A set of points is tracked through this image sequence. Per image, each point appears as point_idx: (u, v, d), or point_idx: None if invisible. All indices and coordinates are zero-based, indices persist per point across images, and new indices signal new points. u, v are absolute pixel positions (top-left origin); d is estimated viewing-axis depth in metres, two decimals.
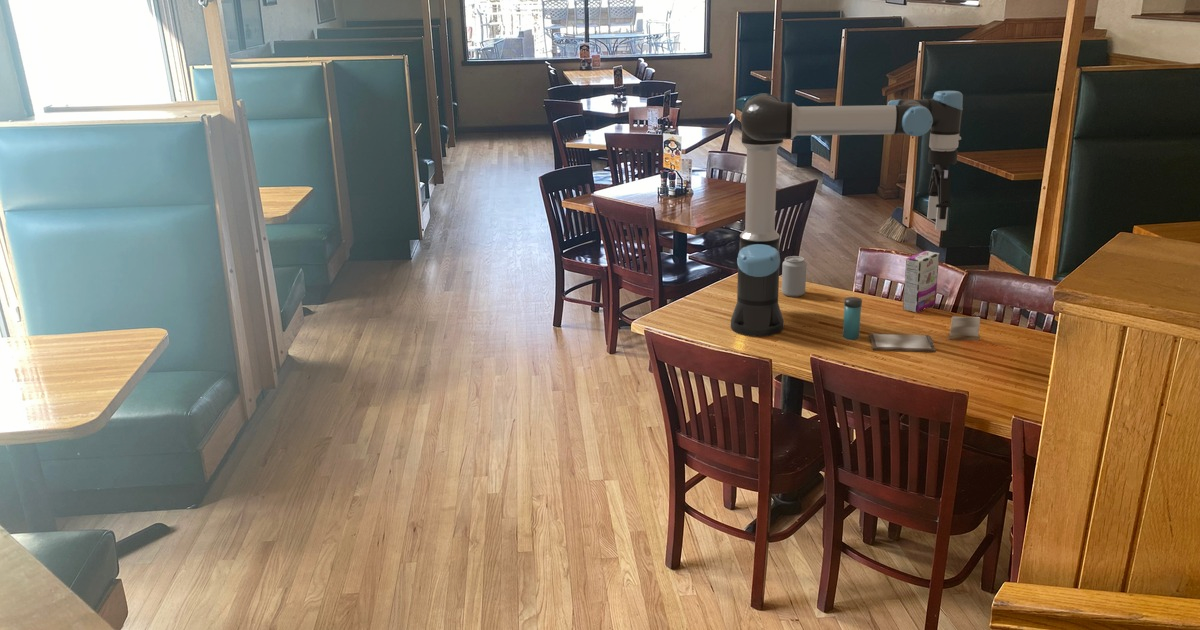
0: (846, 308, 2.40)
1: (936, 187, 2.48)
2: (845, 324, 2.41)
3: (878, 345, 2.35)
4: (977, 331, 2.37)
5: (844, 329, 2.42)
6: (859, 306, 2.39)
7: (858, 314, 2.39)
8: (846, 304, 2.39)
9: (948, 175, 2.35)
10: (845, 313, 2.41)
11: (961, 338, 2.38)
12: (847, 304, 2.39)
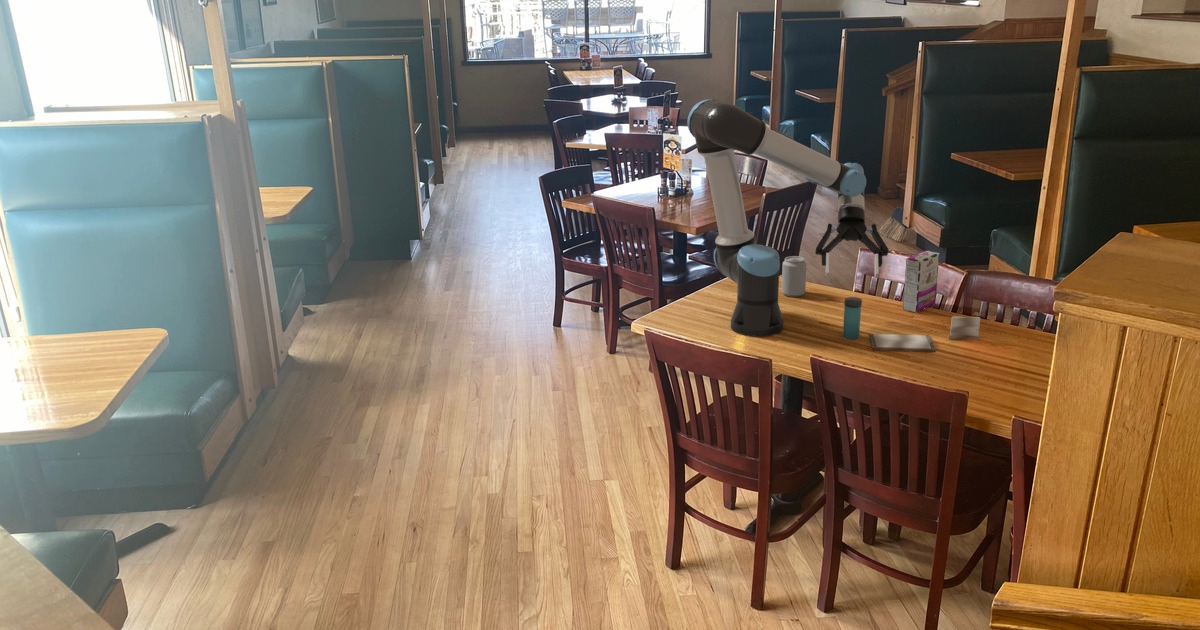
0: (846, 308, 2.40)
1: (833, 246, 2.53)
2: (845, 324, 2.41)
3: (878, 345, 2.35)
4: (977, 331, 2.37)
5: (844, 329, 2.42)
6: (859, 306, 2.39)
7: (858, 314, 2.39)
8: (846, 304, 2.39)
9: None
10: (845, 313, 2.41)
11: (961, 338, 2.38)
12: (847, 304, 2.39)
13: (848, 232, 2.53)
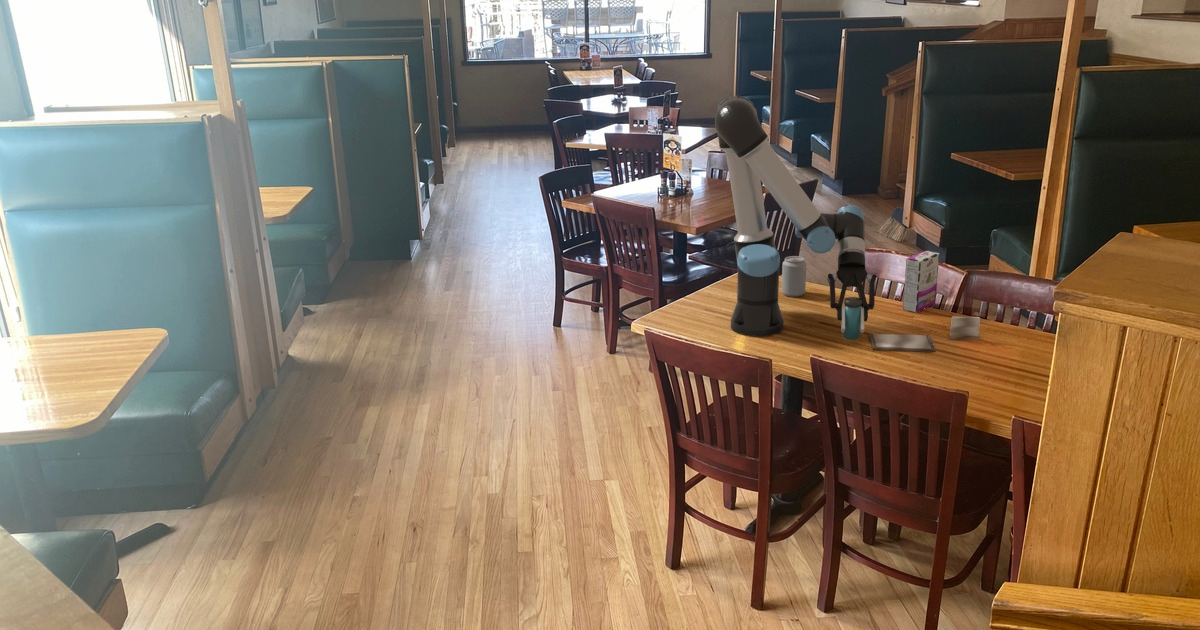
0: (846, 308, 2.40)
1: None
2: (845, 324, 2.41)
3: (878, 345, 2.35)
4: (977, 331, 2.37)
5: None
6: (859, 306, 2.39)
7: (858, 314, 2.39)
8: (846, 304, 2.39)
9: None
10: (845, 313, 2.41)
11: (961, 338, 2.38)
12: (847, 304, 2.39)
13: (848, 278, 2.45)
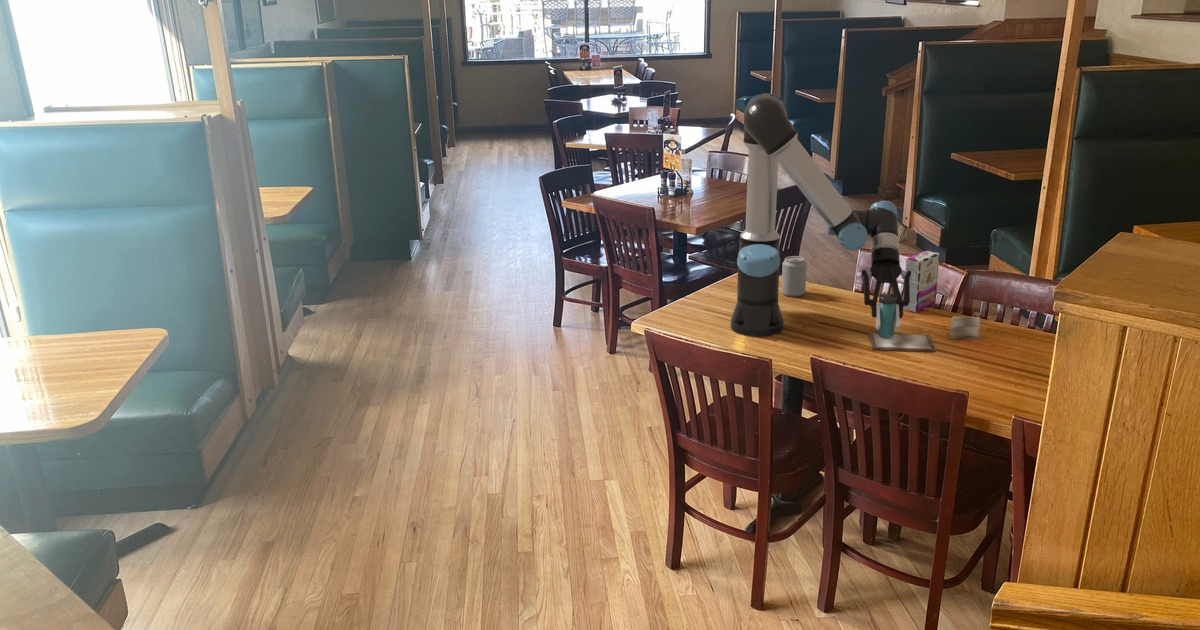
0: (881, 305, 2.37)
1: None
2: (880, 321, 2.38)
3: (878, 345, 2.35)
4: (977, 331, 2.37)
5: None
6: (894, 303, 2.35)
7: (893, 311, 2.36)
8: (881, 301, 2.36)
9: (909, 278, 2.42)
10: (880, 310, 2.37)
11: (961, 338, 2.38)
12: (882, 301, 2.36)
13: (883, 274, 2.41)
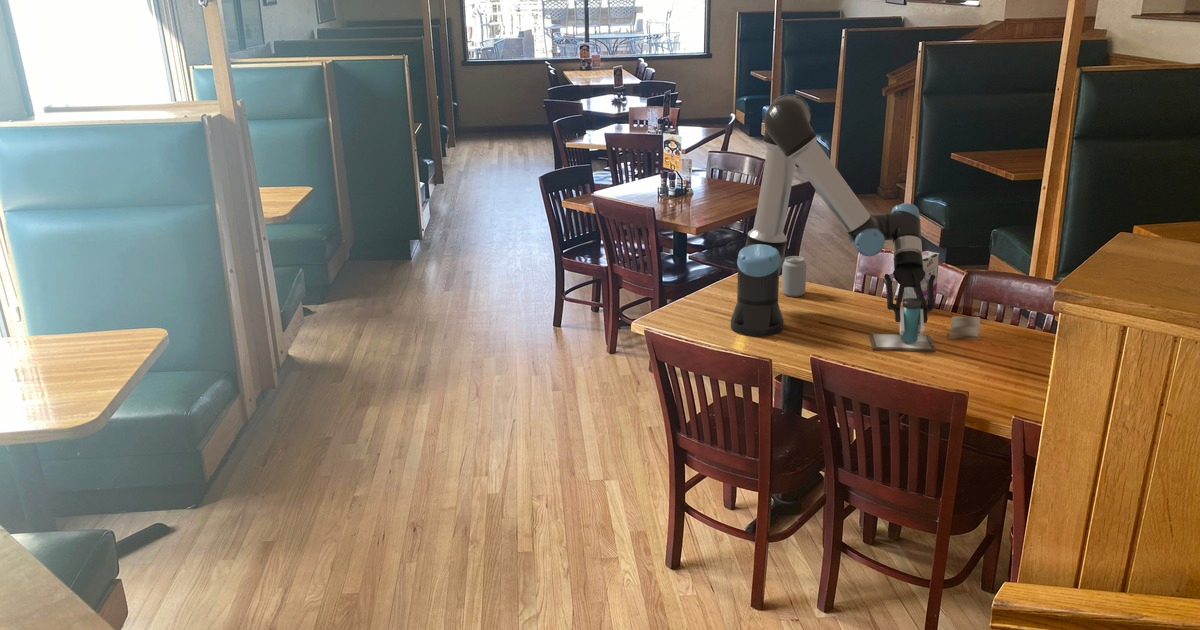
0: (905, 310, 2.32)
1: None
2: None
3: (878, 345, 2.35)
4: (977, 331, 2.37)
5: None
6: (919, 307, 2.31)
7: (917, 316, 2.32)
8: (905, 305, 2.32)
9: None
10: (904, 315, 2.33)
11: (961, 338, 2.38)
12: (906, 305, 2.31)
13: (906, 278, 2.37)
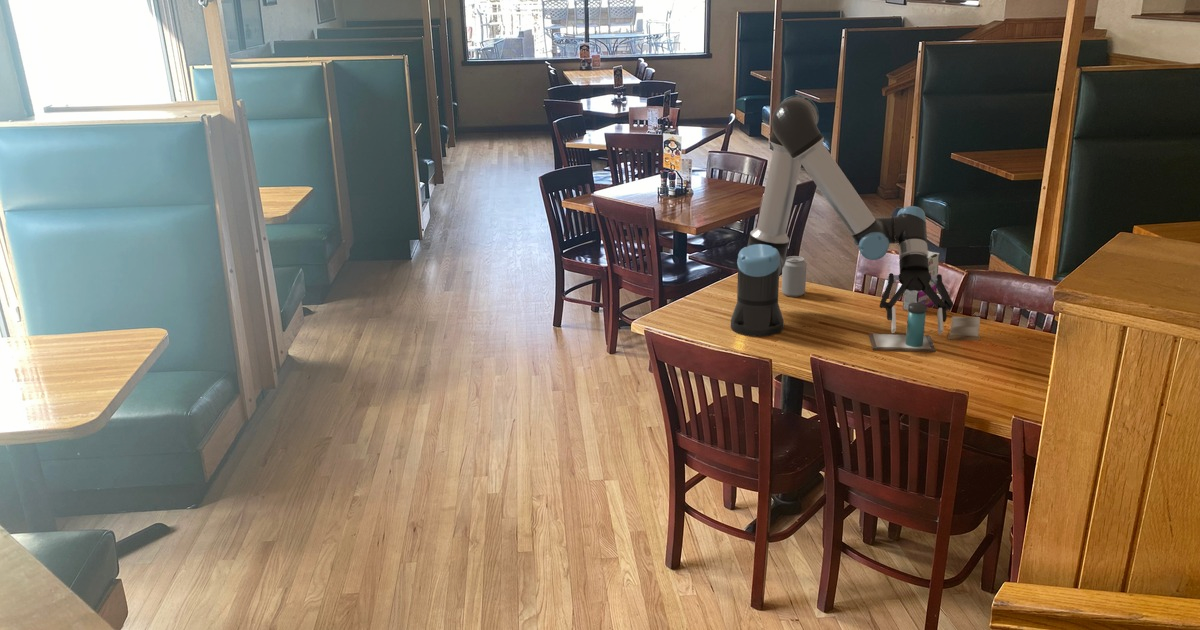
0: (910, 314, 2.31)
1: (898, 298, 2.36)
2: (909, 331, 2.33)
3: (878, 345, 2.35)
4: (977, 331, 2.37)
5: (907, 336, 2.33)
6: (924, 312, 2.30)
7: (923, 320, 2.31)
8: (910, 310, 2.31)
9: None
10: (909, 319, 2.32)
11: (961, 338, 2.38)
12: (911, 310, 2.30)
13: (911, 282, 2.36)
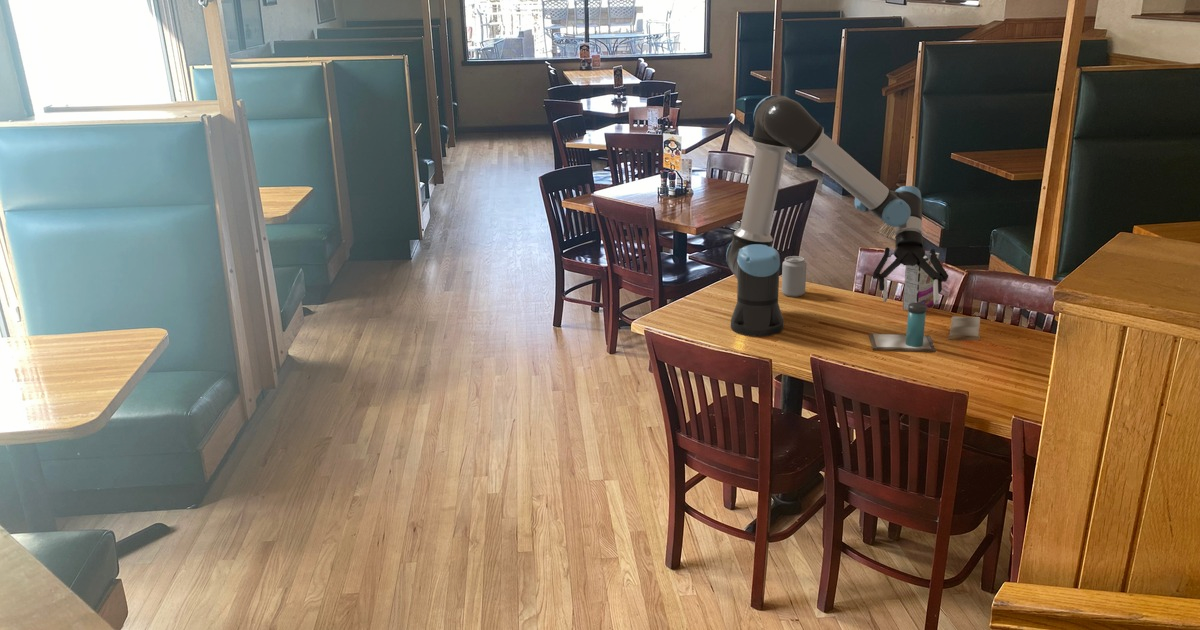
0: (910, 314, 2.31)
1: (891, 270, 2.49)
2: (909, 331, 2.33)
3: (878, 345, 2.35)
4: (977, 331, 2.37)
5: (907, 336, 2.33)
6: (924, 312, 2.30)
7: (923, 320, 2.31)
8: (910, 310, 2.31)
9: None
10: (909, 319, 2.32)
11: (961, 338, 2.38)
12: (911, 310, 2.30)
13: (906, 257, 2.49)
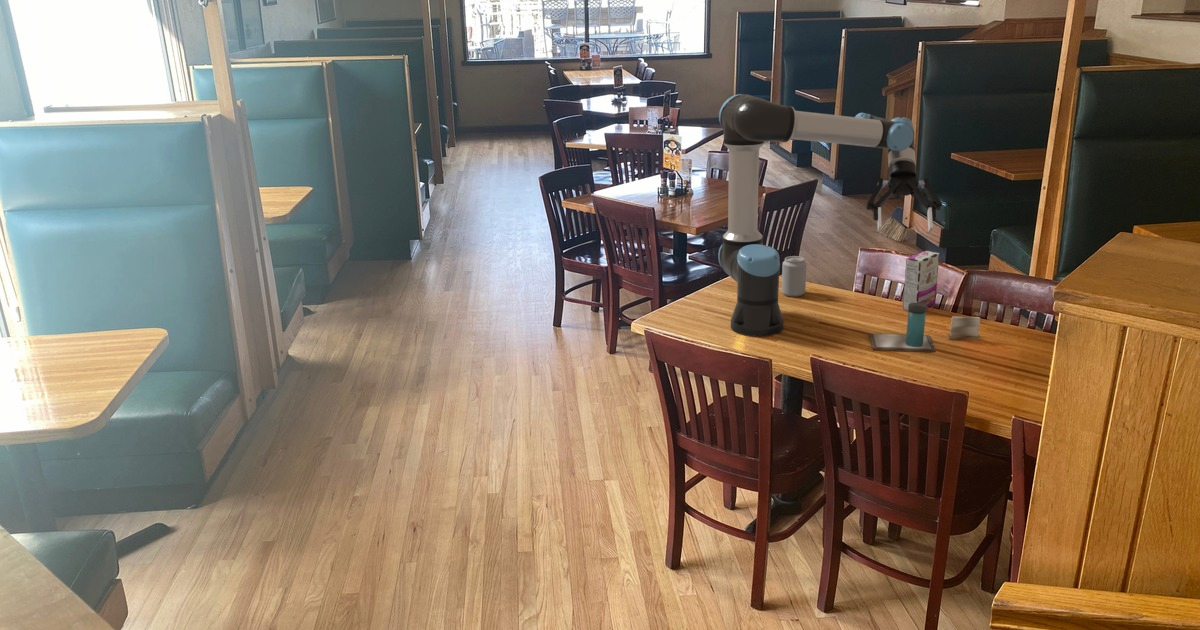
0: (910, 314, 2.31)
1: (885, 201, 2.48)
2: (909, 331, 2.33)
3: (878, 345, 2.35)
4: (977, 331, 2.37)
5: (907, 336, 2.33)
6: (924, 312, 2.30)
7: (923, 320, 2.31)
8: (910, 310, 2.31)
9: None
10: (909, 319, 2.32)
11: (961, 338, 2.38)
12: (911, 310, 2.30)
13: (900, 186, 2.48)
